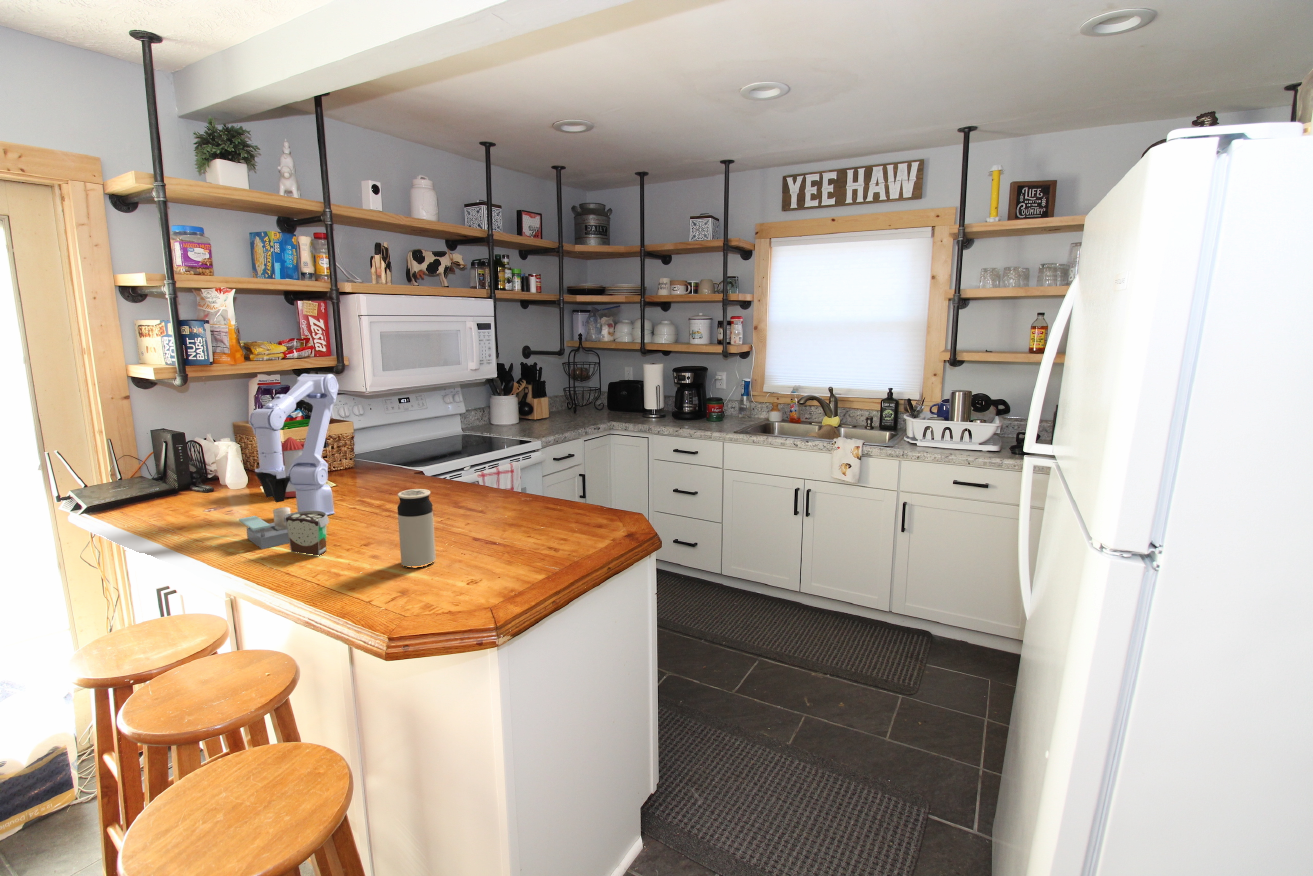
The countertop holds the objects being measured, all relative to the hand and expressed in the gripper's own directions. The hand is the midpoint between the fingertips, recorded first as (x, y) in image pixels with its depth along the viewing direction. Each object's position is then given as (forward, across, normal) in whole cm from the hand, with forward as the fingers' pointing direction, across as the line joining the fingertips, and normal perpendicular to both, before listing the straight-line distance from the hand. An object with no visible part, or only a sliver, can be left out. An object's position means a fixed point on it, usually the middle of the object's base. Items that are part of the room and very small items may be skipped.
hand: (275, 499), depth 179 cm
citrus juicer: (+10, -39, +17) cm, 44 cm away
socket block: (+9, +7, -2) cm, 12 cm away
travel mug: (+10, +52, +15) cm, 55 cm away
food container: (+10, +24, +1) cm, 26 cm away
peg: (+9, +7, -1) cm, 12 cm away
